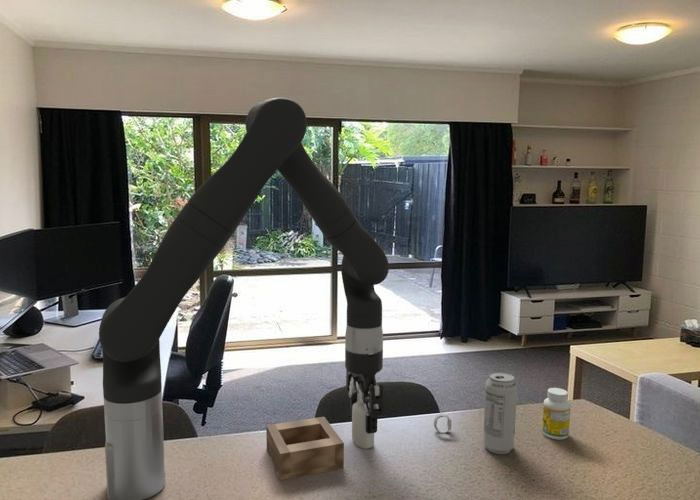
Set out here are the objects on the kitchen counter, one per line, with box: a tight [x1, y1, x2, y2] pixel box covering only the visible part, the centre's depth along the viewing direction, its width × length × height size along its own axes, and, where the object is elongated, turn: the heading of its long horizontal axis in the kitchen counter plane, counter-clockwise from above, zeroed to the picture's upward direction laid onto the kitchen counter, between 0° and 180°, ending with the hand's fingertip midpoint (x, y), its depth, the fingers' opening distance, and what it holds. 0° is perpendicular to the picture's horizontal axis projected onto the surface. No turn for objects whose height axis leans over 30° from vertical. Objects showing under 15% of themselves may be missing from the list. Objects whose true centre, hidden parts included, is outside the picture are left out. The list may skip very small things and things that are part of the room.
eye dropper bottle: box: [351, 393, 375, 450], centre depth 113 cm, size 4×6×12 cm
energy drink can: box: [482, 371, 518, 455], centre depth 111 cm, size 6×6×15 cm
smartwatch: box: [433, 413, 452, 434], centre depth 119 cm, size 4×2×4 cm, turn 87°
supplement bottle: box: [541, 387, 571, 441], centre depth 117 cm, size 5×5×10 cm
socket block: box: [265, 416, 345, 481], centre depth 107 cm, size 12×12×5 cm
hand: (363, 423), depth 113 cm, fingers open, 8 cm apart
